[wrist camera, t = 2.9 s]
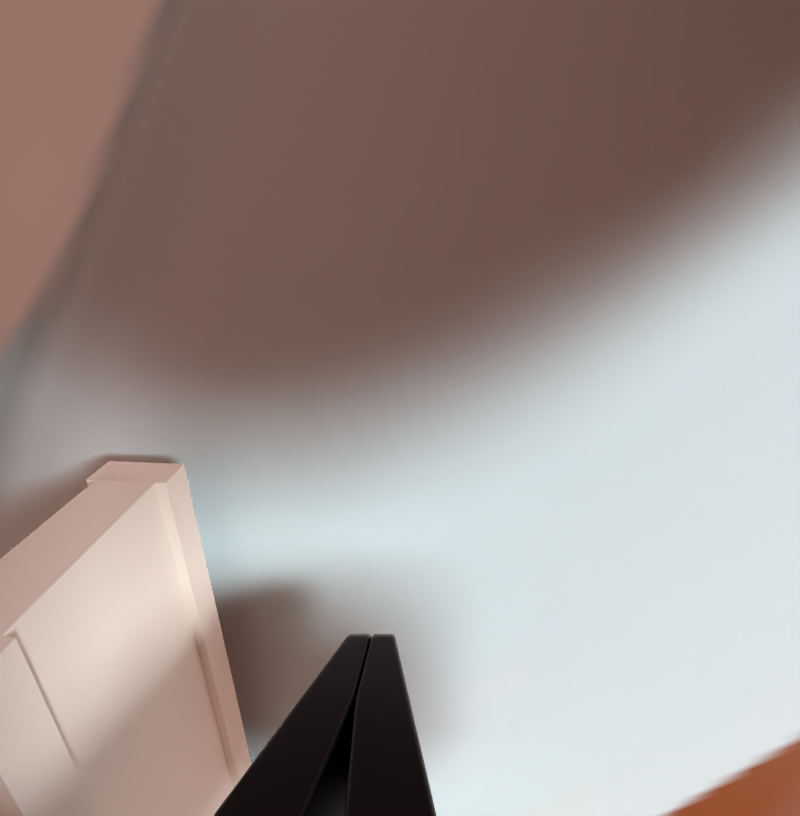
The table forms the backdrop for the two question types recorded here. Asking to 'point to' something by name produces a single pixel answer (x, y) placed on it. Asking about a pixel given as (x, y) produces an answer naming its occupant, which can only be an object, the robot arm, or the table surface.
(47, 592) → the gate
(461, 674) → the table surface
